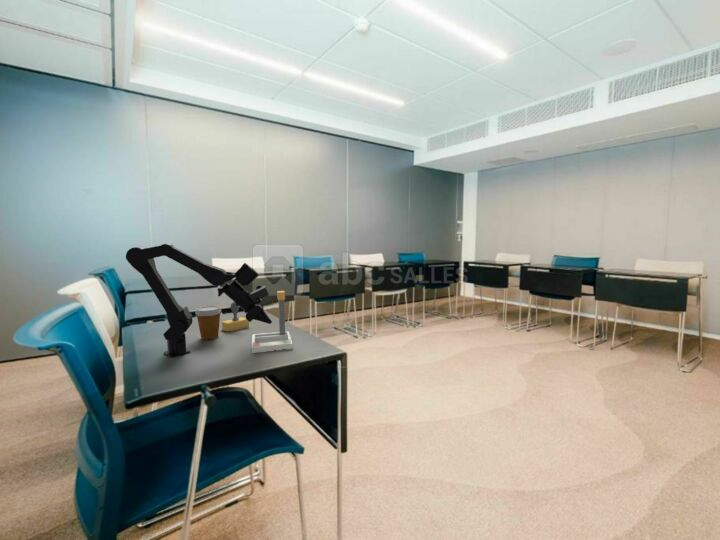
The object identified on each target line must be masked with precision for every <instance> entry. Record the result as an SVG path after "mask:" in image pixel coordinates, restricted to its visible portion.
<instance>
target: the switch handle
mask: <svg viewBox="0 0 720 540" xmlns="http://www.w3.org/2000/svg"><path fill="white" fill-rule="evenodd" d="M276 292H277V293H276V295H277V300H278V326H279V327H278V329H279V331H278V332H279V335H284V334H285V332H286V324H285V323H286V317H285V315H286V314H285V313H286V312H285V301H286V291H285V290H277V291H276Z"/></svg>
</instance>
